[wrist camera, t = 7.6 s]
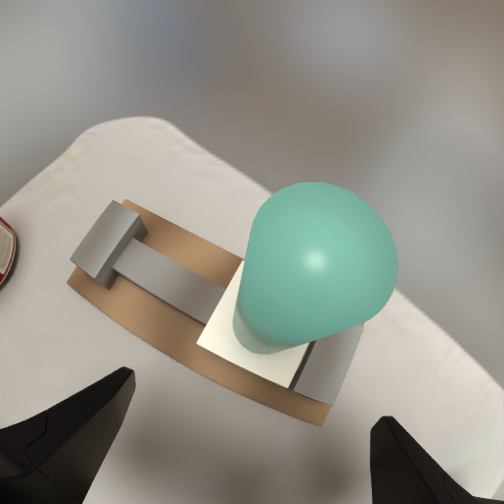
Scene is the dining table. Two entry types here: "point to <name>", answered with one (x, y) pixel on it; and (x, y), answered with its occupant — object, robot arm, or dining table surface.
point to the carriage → (302, 279)
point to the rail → (181, 328)
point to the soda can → (6, 248)
